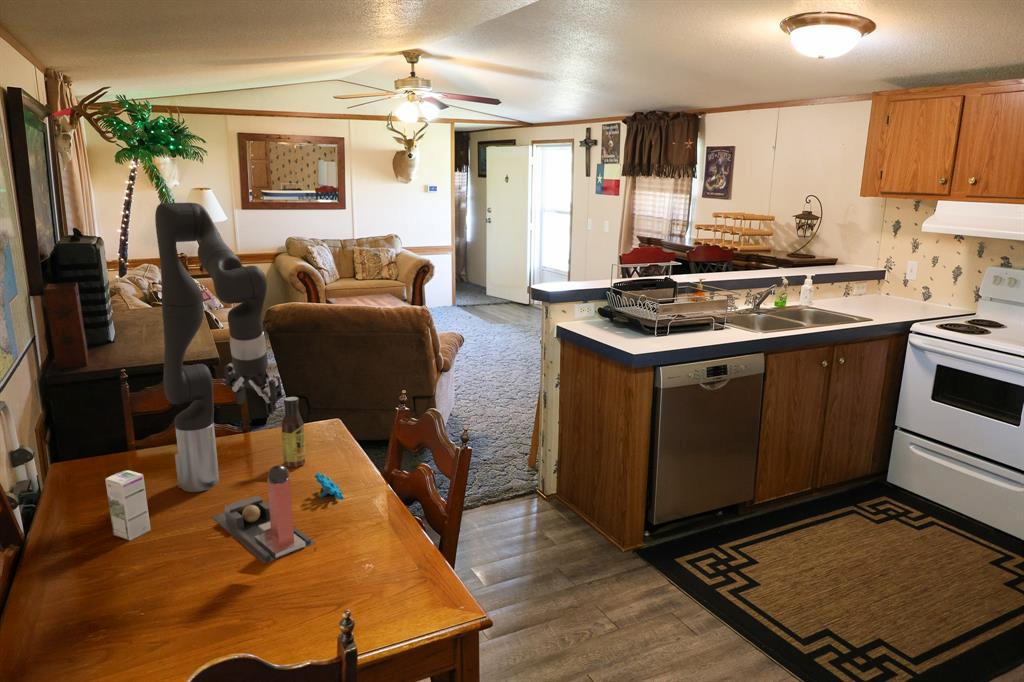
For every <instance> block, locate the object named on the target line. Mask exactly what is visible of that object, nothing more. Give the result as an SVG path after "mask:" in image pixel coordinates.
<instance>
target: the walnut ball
mask: <svg viewBox="0 0 1024 682" xmlns="http://www.w3.org/2000/svg"><path fill="white" fill-rule="evenodd" d="M242 516H243V519H244V520H245V521H246V522H255V521H256V520H257V519H258V518H259V516H260V510H259V508H258V507H257V506H255V505H249V506H247V507H246V508H245V509H244V510H243V512H242Z"/></svg>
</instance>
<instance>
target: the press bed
mask: <svg viewBox="0 0 1024 682" xmlns="http://www.w3.org/2000/svg"><path fill="white" fill-rule="evenodd" d="M249 505H255V506H257V507H258V508H259V510H260V516H259V518H258V519H257V520H256V521H255V522H246V521H245V520H244V519H243V516H242V512H243V510H244V509H245V508H246V507H247V506H249ZM211 518H212V519H213V520H214V521H215V522H216V523H218V525H220V526H221V527H222V528H223V529H225V531H227V532H228V533H229V534H230V535H231V536H232V537H234V538H235V539H236V540H237V541H238V542H240V544H242V545H243V546H244V547H245V548H246V549H247V550H248V551H249V552H251V554H253V555H254V556H255V557H256V558H258V559H259V560H260V562H262V563H263V564H267V563H270V562H273V561H275V560H277V559H280V558H283V557H284V556H288V555H290V554H292V553H295V552H297V551H299V550H303V549H305V548H308V547H310V546H312V545H315V544H316V542H315V541H314V540H313V539H311V538H310V536H308V535H307V534H305V533H304V532H302V531H301V530H300V529H298V528H297V527H296V526H294V525H293V531H294V534H295V535H297V536H298V537H299V538H301V539H302V540H303V541H305V543H306V546H305V547H303V548H300V549H298V550H295V551H293V552H290V553H287V554H285V555H282V556H280V557H277V558H275V557H274V556H273V555H271V554H270V553H269V552H268V551H267V550H265V549H264V548H263V547H262V546H261V545H260V544H258V543H257V542H256V541H255V536H257V535H259V530H258V526H259V525H262V524H264V523H267V522H270V511H269V503H268V502H266V501H264V500H263V498H262V497H260V496H259V495H254V496H250V497H249V498H245V499H241V500H238V501H235V502H233V503H229V504H227V505H224V512H223V513H218V514H216V515H213V516H211ZM313 550H314V551H315V550H317V547H315V548H314V549H313Z"/></svg>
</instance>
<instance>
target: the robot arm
mask: <svg viewBox="0 0 1024 682" xmlns="http://www.w3.org/2000/svg"><path fill="white" fill-rule="evenodd" d="M154 215H155V217H154V219H155V230H156V238H157V247H158V254H159V255H158V256H159V262H160V276H161V277H160V278H161V279H160V282H161V283H160V284H161V314H162V322H163V323H162V324H163V325H162V326H163V336H164V337H163V338H164V351H163V353H164V355H163V356H164V357H163V378H162V379H163V389H164V394H165V398H166V399H167V401H168V402H169V403H170V404H172V405H179V404H184V403H190V402H191V403H190V405H189V406H188V407H187V408H185V409H184V410H182V411H181V412H179V413H178V414H176V416H175V417H174V427H175V436H176V444H177V446H176V447H177V452H176V453H175V455H174V460H175V471H176V478H177V487H178V488H179V489H182V490H183V491H185V492H189V493H199V492H205V491H207V490H211V489H212V488H213V487H215V486H216V485H217V484H219V483H220V478H219V477H220V476H219V463H218V456H217V455H218V453H217V443H216V435H215V434H216V432H215V423H214V420H215V419H214V417H215V416H214V414H215V408H214V407H215V406H214V383H213V382H214V381H213V377H212V372H211V371H210V369H209V367H208V366H207V365H206V364H204V363H196V364H192V365H191V364H190V365H186V366H184V365H183V364H184V360H185V355H186V351H187V350H188V347H189V346H190V344H191V343H192V341H193V339H194V337H195V336H196V334H197V332H199V329H200V328H201V326H202V324H203V321H204V296H203V292H202V289H201V287H200V286H199V285H198V284H197V282H196V280H194V278H193V277H192V275H190V273H189V272H188V271H187V269H186V268H185V266H184V265H183V263H182V261H181V260H180V257H179V254H178V250H177V249H178V248H177V243H186V242H189V243H190V242H196V241H200V243H199V246H198V248H197V259H198V261H199V264H200V265H201V266H202V267H203V268H204V270H205V271H206V272H207V273H208V275H209V276H210V278H211V279H212V282H213V288H214V292H215V296H216V297H217V298H218V300H219V301H221V302H222V303H224V304H229V305H231V304H232V305H234V304H237V303H239V304H238V305H236V306H234V307H232V308H231V309H230V310H229V311H228V313H227V324H228V331H229V347H230V355H231V362H230V363H228V364H226V365H225V366H224V369H223V370H224V380H225V386H226V387H227V388H231V389H232V391H233V392H234V396H235V402H236V404H237V405H240V406H241V405H243V404H244V403H245V402H246V392H245V391H246V390H245V388H246V389H251V390H252V391H255V392H256V393H257V394H258V396H260V397H262V398H263V399H264V401H265V402H264V403H265V410H266V415H269V416H270V415H272V414H273V413H274V412H276V411H277V402H279V400H281V399H282V398H283V396H284V395H283V391H282V390H283V389H282V386H281V384H282V383H281V379H280V376H278V375H276V376H275V377H272V376H269V374H268V372H267V371H268V366H269V358H268V352H267V351H268V350H267V341H266V337H265V332H264V324H263V318H262V317H263V310H264V303H265V300H266V295H267V289H268V281H267V275H266V274H265V272H264V271H263V270H262V269H261V267H259V266H258V265H257V266H256V265H247V266H243V263H242V262H241V260H240V257H238V256H237V255H236V254H235V252H234V251H233V250H232V249H231V248H230V247H229V246H228V245H227V244H226V243H225V241H224V240H223V238H222V236H221V234H220V232H219V230H218V228H217V226H216V225H215V223H214V222H213V219H212V218H211V216H210V214H209V212H208V211H207V210H206V208H205V207H204V206H202V205H201V204H200V203H197V202H196V203H195V202H162V203H160V204H158V205H157V206H156V209H155V214H154ZM237 378H238V379H237ZM264 386H265V388H264V389H262V388H263V387H264ZM244 387H245V388H244ZM267 393H268V394H267Z"/></svg>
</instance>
